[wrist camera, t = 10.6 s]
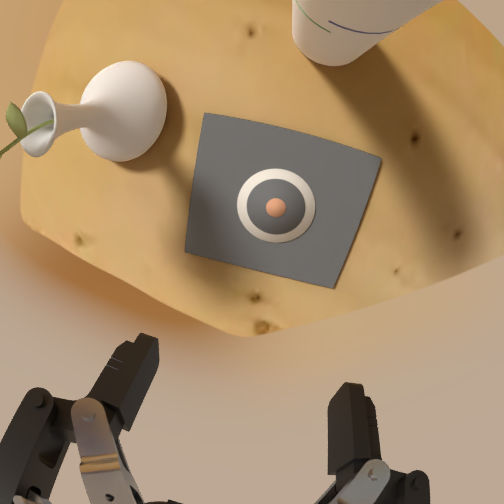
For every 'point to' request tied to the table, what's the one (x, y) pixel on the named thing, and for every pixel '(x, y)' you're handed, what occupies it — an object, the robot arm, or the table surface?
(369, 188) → the pad
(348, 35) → the cylindrical container
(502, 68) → the table surface
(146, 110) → the flower in vase
